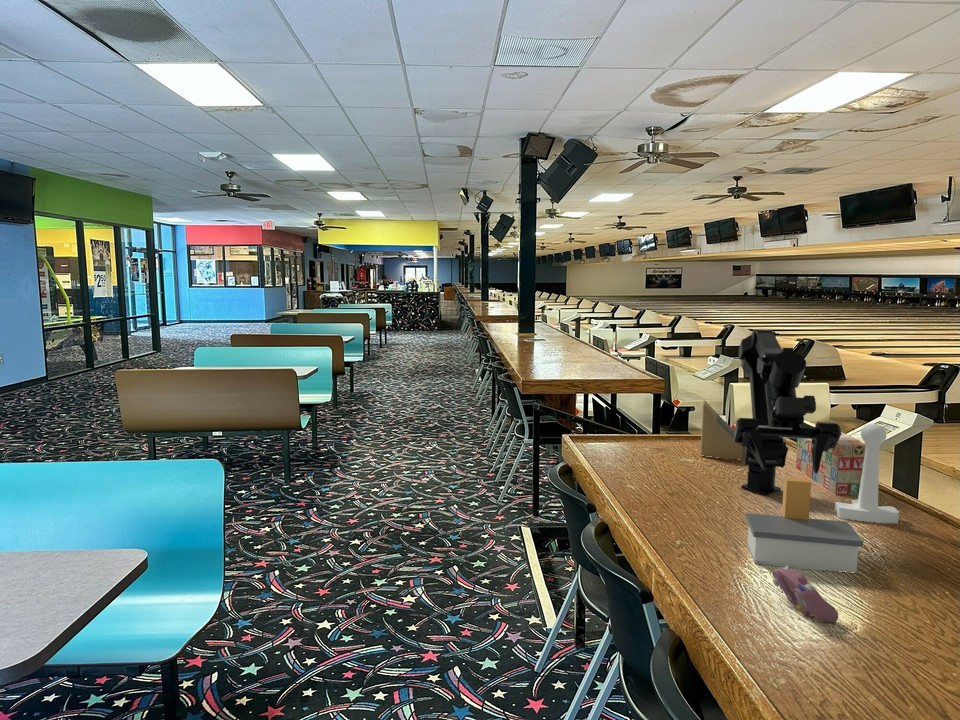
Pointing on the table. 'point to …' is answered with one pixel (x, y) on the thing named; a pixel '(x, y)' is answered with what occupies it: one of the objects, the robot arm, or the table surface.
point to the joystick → (869, 484)
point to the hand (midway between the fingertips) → (790, 470)
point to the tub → (802, 554)
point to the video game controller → (803, 594)
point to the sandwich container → (718, 436)
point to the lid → (801, 520)
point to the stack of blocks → (835, 464)
